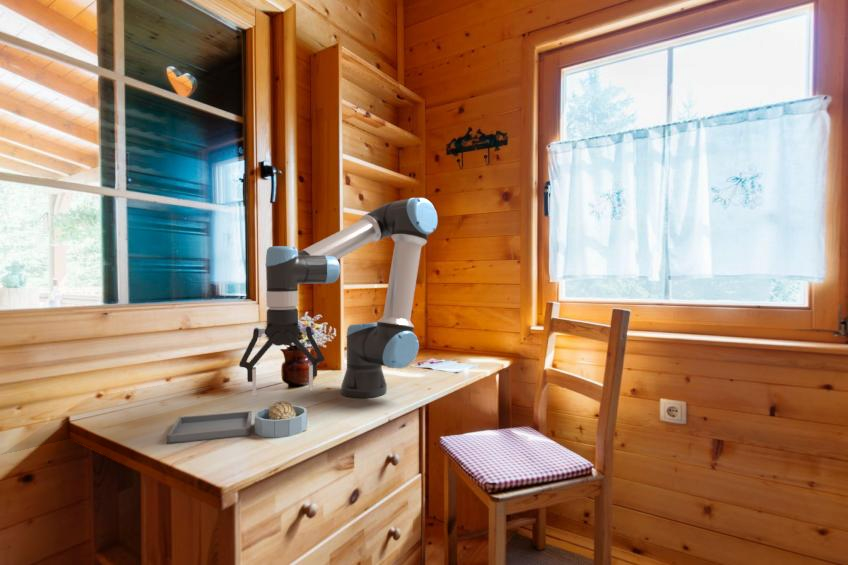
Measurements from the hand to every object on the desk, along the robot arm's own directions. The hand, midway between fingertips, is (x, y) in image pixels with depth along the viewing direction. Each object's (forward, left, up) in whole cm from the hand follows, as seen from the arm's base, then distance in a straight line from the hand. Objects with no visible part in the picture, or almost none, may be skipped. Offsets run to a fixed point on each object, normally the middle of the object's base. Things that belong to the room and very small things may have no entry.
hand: (283, 391), depth 110 cm
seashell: (+1, 0, -8) cm, 8 cm away
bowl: (0, 0, -9) cm, 9 cm away
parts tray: (+16, -4, -9) cm, 19 cm away
